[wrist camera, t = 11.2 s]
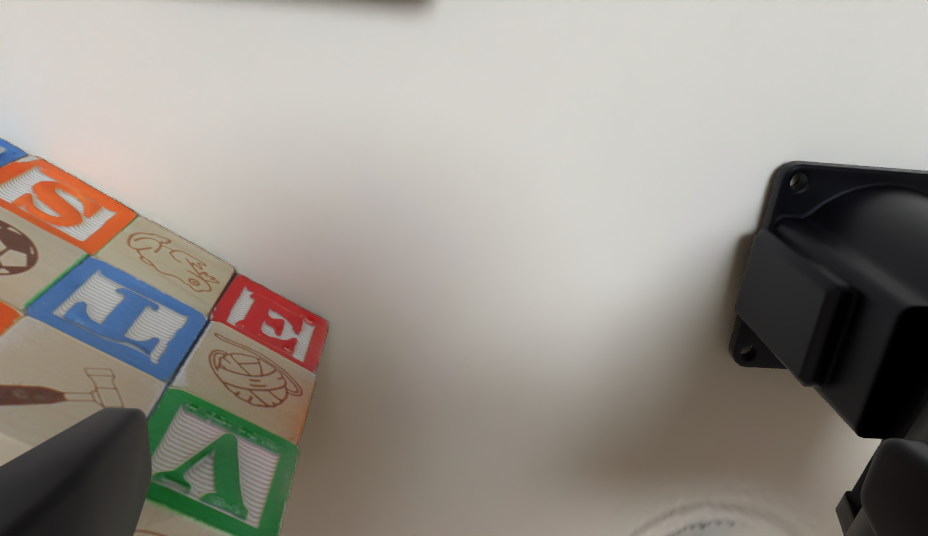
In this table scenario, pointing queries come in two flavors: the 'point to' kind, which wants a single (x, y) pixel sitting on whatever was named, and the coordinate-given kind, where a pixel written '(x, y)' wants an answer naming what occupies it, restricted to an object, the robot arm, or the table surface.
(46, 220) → the stack of blocks
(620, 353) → the table surface
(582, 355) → the table surface
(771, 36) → the table surface
